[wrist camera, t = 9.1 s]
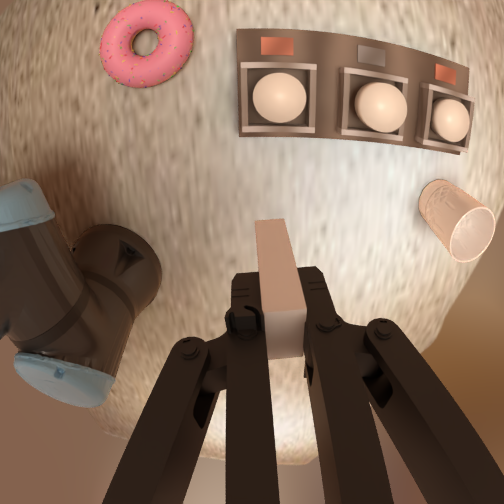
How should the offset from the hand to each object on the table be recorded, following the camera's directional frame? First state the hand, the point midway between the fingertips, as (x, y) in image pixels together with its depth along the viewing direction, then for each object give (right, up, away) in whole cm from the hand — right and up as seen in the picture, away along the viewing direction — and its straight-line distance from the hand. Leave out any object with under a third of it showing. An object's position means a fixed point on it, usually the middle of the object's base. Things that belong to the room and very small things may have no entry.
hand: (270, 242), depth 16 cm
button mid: (+12, +14, +9) cm, 21 cm away
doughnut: (-13, +23, +10) cm, 28 cm away
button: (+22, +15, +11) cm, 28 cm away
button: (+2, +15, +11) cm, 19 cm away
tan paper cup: (+26, +7, +21) cm, 34 cm away
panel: (+12, +18, +13) cm, 25 cm away
